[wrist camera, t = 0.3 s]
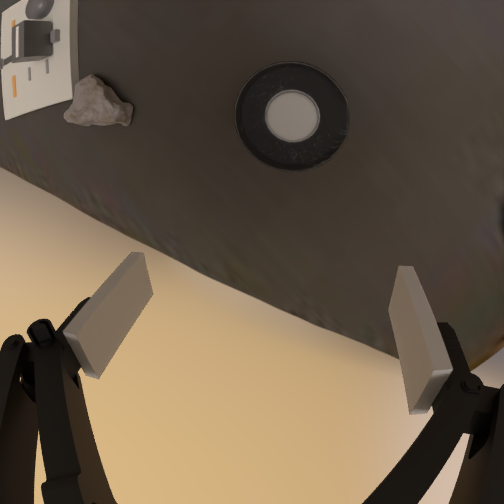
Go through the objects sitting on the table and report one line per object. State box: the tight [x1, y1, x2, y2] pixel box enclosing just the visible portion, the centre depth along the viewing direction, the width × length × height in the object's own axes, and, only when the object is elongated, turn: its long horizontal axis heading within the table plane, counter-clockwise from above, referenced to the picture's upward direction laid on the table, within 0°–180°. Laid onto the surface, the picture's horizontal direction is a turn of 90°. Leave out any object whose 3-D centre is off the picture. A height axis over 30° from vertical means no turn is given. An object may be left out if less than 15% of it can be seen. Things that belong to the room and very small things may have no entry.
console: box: [0, 0, 79, 120], centre depth 34 cm, size 22×18×4 cm
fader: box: [12, 20, 52, 63], centre depth 30 cm, size 6×3×6 cm, turn 2°
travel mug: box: [234, 61, 349, 172], centre depth 27 cm, size 8×8×20 cm
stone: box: [64, 74, 133, 126], centre depth 37 cm, size 8×10×6 cm
